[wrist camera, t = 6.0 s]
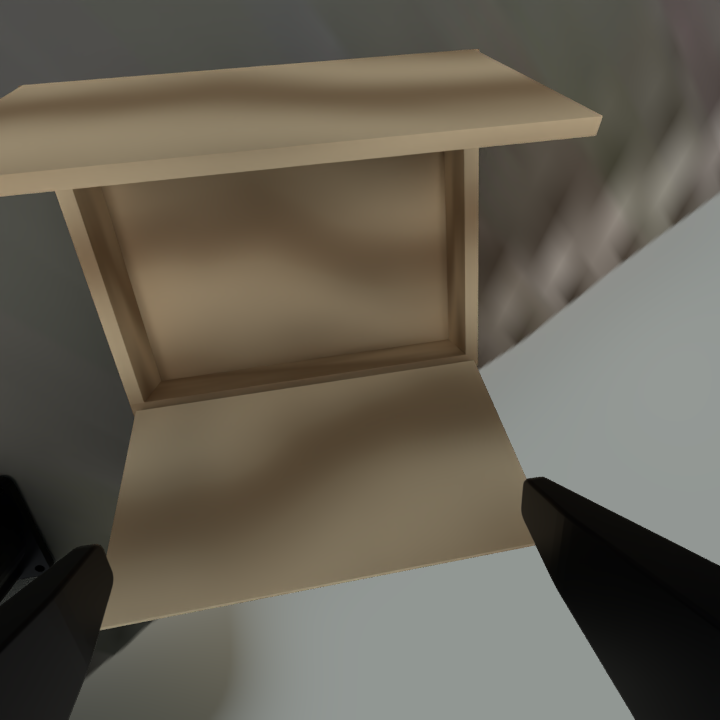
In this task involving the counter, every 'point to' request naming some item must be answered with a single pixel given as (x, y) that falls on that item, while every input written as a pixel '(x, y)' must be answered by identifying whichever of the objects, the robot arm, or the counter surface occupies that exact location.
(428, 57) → the flap near
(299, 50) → the counter surface
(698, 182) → the counter surface
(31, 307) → the counter surface
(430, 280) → the carton
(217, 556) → the flap far
